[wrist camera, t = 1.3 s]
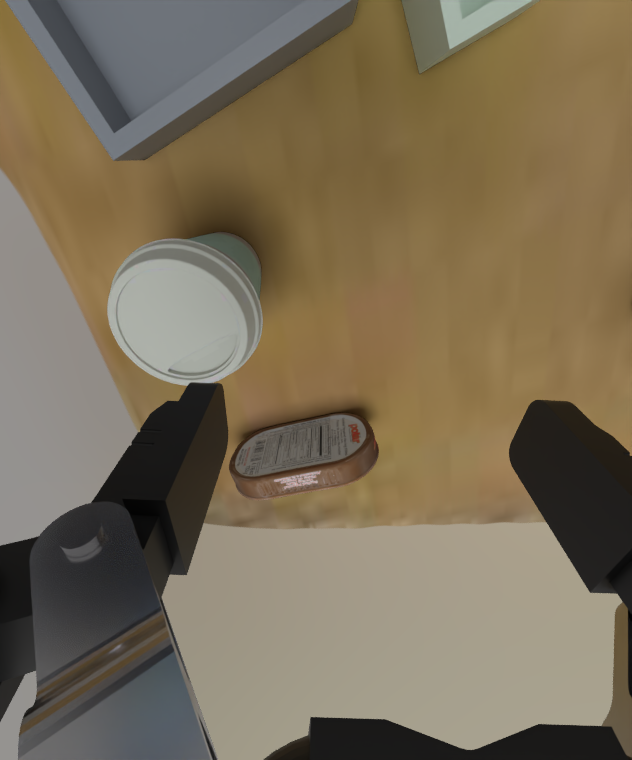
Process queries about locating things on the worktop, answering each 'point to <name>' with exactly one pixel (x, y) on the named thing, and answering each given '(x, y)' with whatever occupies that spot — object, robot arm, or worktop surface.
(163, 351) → the coffee cup
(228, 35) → the large crate
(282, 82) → the worktop surface
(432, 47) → the small crate
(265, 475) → the tin
